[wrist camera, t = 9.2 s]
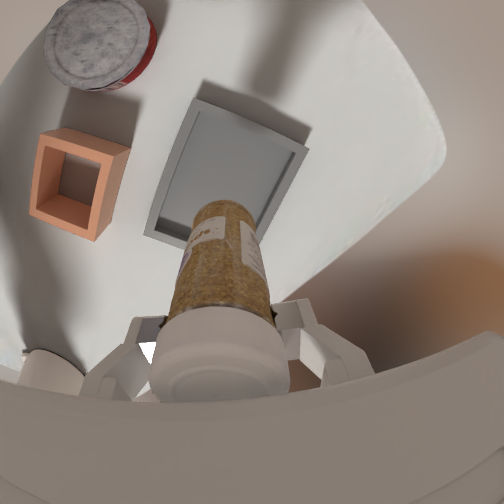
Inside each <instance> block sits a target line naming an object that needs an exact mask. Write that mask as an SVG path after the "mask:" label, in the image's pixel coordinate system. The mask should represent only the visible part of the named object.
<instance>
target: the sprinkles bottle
mask: <svg viewBox="0 0 504 504" xmlns="http://www.w3.org/2000/svg"><path fill="white" fill-rule="evenodd" d="M255 233H256V226H255V221H254V219H253V217H252V215H251V213H250V212H249V211H248V210H247V209H246V208H245V207H244V206H243V205H241V204H239V203H237V202H235V201H232V200H218V201H214V202H210V203H208V204H207V205H205V206H204V207H202V208H201V209H200V210H199V212H198V213H197V214H196V216H195V217H194V220H193V223H192V232H191V235H190V236H189V239H188V241H187V245H186V248H185V252H184V255H183V259H182V262H181V266H180V270H179V273H178V276H177V280H176V284H175V291H174V295H173V299H172V302H171V306H170V312H169V315H168V319H167V321H166V325H164V326H163V327H162V329H161V330H160V332H159V334H158V336H157V339H156V343H155V346H154V350H153V354H152V358H151V363H150V368H149V375H148V376H149V384H150V387H151V390H152V392H153V393H154V395H155V396H156V398H157V399H158V400H159V401H160V402H169V403H176V402H211V401H227V400H239V399H249V398H258V397H266V396H273V395H280V394H287V393H288V391H289V386H290V376H289V369H288V363H287V357H286V353H285V348H284V344H283V341H282V338H281V336H280V334H279V333H278V331H277V328H276V326H275V325H274V320H273V315H272V311H271V306H270V294H269V288H268V284H267V279H266V275H265V270H264V265H263V261H262V256H261V251H260V247H259V242H258V239H257V236H256V234H255Z"/></svg>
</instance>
